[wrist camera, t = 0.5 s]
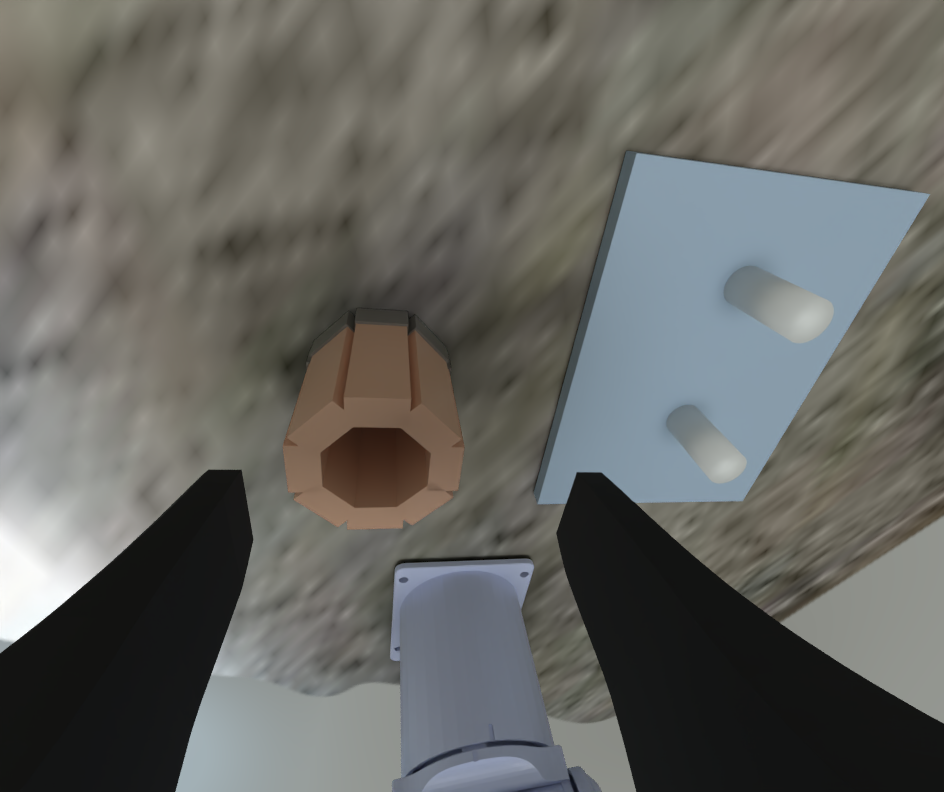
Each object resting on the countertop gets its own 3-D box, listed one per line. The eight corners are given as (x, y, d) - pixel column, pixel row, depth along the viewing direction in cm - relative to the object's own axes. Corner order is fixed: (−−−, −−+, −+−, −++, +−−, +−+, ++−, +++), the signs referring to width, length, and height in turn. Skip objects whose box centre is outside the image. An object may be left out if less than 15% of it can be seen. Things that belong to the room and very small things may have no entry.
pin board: (733, 490, 26) (787, 552, 23) (533, 492, 24) (558, 561, 20) (909, 190, 18) (1038, 214, 14) (626, 150, 16) (695, 166, 12)
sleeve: (440, 425, 21) (455, 529, 16) (316, 423, 20) (289, 533, 15) (452, 313, 18) (475, 397, 13) (308, 304, 17) (271, 392, 12)
